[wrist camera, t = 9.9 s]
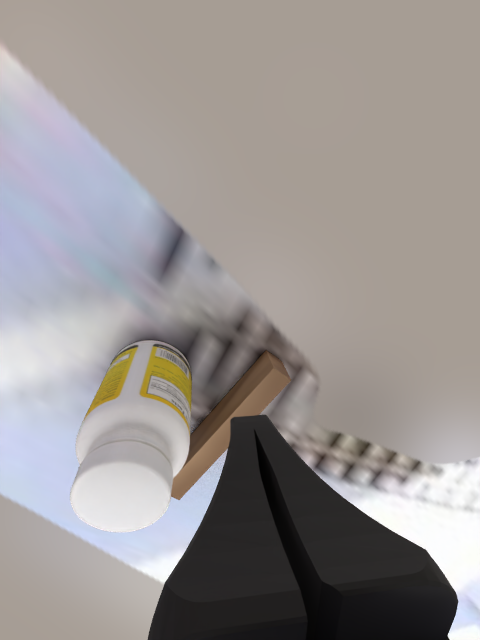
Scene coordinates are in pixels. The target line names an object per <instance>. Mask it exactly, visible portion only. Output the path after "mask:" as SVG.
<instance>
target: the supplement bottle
mask: <svg viewBox="0 0 480 640" xmlns="http://www.w3.org/2000/svg"><path fill="white" fill-rule="evenodd" d="M191 390H192V376H191V369H190V366H189V363H188V361H187V360H186V358H185V357H184V355H183V354H182V353H181V352H180V351H179V350H177V349H176V348H174V347H173V346H171V345H169V344H167V343H164V342H160V341H153V340H146V341H140V342H136V343H133V344H131V345H129V346H127V347H125V348H124V349H122V350H121V351H120V352H119V353H118V354H117V355H116V357H115V358H114V359H113V361H112V363H111V365H110V367H109V369H108V371H107V373H106V375H105V377H104V379H103V381H102V383H101V386H100V388H99V390H98V392H97V394H96V396H95V398H94V400H93V402H92V404H91V406H90V408H89V410H88V412H87V414H86V416H85V418H84V420H83V422H82V424H81V427H80V429H79V432H78V435H77V438H76V455H77V459H78V462H79V464H80V466H79V469H78V472H77V475H76V477H75V480H74V482H73V485H72V488H71V492H70V501H71V505H72V508H73V510H74V511H75V513H76V514H77V516H78V517H79V518H80V519H81V520H83V521H84V522H85V523H87V524H88V525H90V526H92V527H95V528H97V529H100V530H104V531H109V532H131V531H136V530H139V529H142V528H145V527H147V526H149V525H151V524H153V523H154V522H156V521H157V520H158V519H160V518H161V517H162V515H163V514H164V513H165V512H166V510H167V508H168V506H169V503H170V499H171V491H172V484H173V478H174V477H175V476H176V475H177V474H178V473H179V471H180V470H181V469H182V467H183V466H184V464H185V462H186V459H187V456H188V452H189V445H190V422H191Z"/></svg>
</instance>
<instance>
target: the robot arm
mask: <svg viewBox="0 0 480 640" xmlns="http://www.w3.org/2000/svg"><path fill="white" fill-rule="evenodd" d="M457 605H458V599H457V595H456V592H455V591H454V589H453V588H452V586H451V585H450V583H449V581H448V580H447V578H446V577H445V575H444V574H443V572H442V571H441V569H440V568H439V566H438V565H437V564H436V563H435V561H434V560H433V559H432V558H431V556H430V555H429V553H428V552H427V551H426V550H425V549H423V548H422V547H420V546H418V545H416V544H414V543H413V542H411V541H409V540H407V539H405V538H404V537H402V536H400V535H398V534H396V533H395V532H393V531H391V530H389V529H388V528H386V527H385V526H383V525H382V524H380V523H378V522H377V521H375V520H374V519H372V518H371V517H369V516H368V515H366V514H365V513H363V512H362V511H361V510H359V509H358V508H357V507H355V506H354V505H353V504H351V503H350V502H348V501H347V500H346V499H344V498H343V497H342V496H341V495H339V494H338V493H337V492H336V491H334V490H333V489H332V488H331V487H330V486H329V485H328V484H326V483H325V482H324V481H323V480H322V479H321V478H320V477H319V476H318V475H317V474H316V473H315V472H314V471H313V470H312V469H311V468H310V467H309V466H308V465H307V464H306V463H305V462H304V461H303V460H302V459H301V458H300V457H299V456H298V455H297V453H296V452H295V451H294V450H293V449H292V448H291V446H290V445H289V444H288V443H287V442H286V441H285V439H284V438H283V437H282V435H281V434H280V433H279V432H278V430H277V429H276V428H275V426H274V425H273V424H272V422H271V421H270V419H269V418H268V417H267V416H266V415H254V416H241V417H233V418H232V419H231V420H230V442H229V447H228V451H227V456H226V460H225V463H224V467H223V470H222V473H221V476H220V479H219V482H218V485H217V488H216V490H215V493H214V495H213V498H212V500H211V503H210V505H209V507H208V509H207V511H206V514H205V516H204V518H203V520H202V522H201V524H200V526H199V528H198V530H197V531H196V533H195V535H194V537H193V539H192V540H191V542H190V544H189V546H188V548H187V549H186V551H185V553H184V554H183V556H182V558H181V559H180V561H179V562H178V564H177V565H176V567H175V568H174V570H173V571H172V573H171V575H170V576H169V578H168V579H167V581H166V582H165V584H164V587H163V590H162V593H161V596H160V598H159V601H158V604H157V607H156V610H155V613H154V616H153V620H152V623H151V627H150V631H149V636H148V640H449V638H448V633H449V630H450V628H451V625H452V623H453V620H454V617H455V615H456V610H457Z"/></svg>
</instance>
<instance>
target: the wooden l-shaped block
mask: <svg viewBox="0 0 480 640" xmlns="http://www.w3.org/2000/svg"><path fill="white" fill-rule="evenodd" d="M290 381H291V379H290V377H289V375H288V373H287V371H286V369H285V367H284V365H283V363H282V361H281V360H279V359H278V358H276V357H275V356H274V355H272V354H271V353H269V352H268V351H267V350H266V351H265V352H264V353H263V354H262V355H261V356H260V358H259V359H258V360H257V361H256V362H255V363H254V364H253V365H252V367H251V368H250V369H249V370H248V371H247V372H246V373H245V374H244V376H243V377H242V378H241V379H240V380H239V381H238V382H237V383H236V385H235V386H234V387H233V388H232V389H231V390H230V391H229V392H228V394H227V395H226V396H225V397H224V398H223V399H222V400H221V401H220V403H219V404H218V405H217V406H216V407H215V408H214V409H213V410H212V412H211V413H210V414H209V415H208V416H207V417H206V418H205V419H204V421H203V422H202V423H201V424H200V425H199V426H198V427H197V428H196V430H195V431H194V432H193V433H192V434H191V435H190V445H189V452H188V456H187V459H186V462H185V464H184V466H183V467H182V469H181V470H180V471H179V473H178V474H177V475H176V476H175V477H174V478H173V484H172V491H171V497H173V498H176V499H178V500H180V499H181V498H182V497H183V495H184V494H185V493H186V492H187V491H188V490H189V489H190V488H191V487H192V486H193V485H194V484H195V483H196V482H197V480H198V479H199V478H200V477H201V476H202V475H203V474H204V473H205V472H206V471H207V470H208V469H209V468H210V467H211V465H212V464H213V463H214V462H215V461H216V460H217V459H218V458H219V457H220V456H221V455H222V454H223V453H224V452H225V450H226V449H227V448H228V447H229V442H230V420H231V419H232V418H233V417H241V416H254V415H259V414H260V413H261V412H262V411H263V410H264V409H265V408H266V407H267V405H268V404H269V403H270V402H271V401H272V400H273V399H274V398H275V397H276V396H277V395H278V394H279V393H280V392H281V390H282V389H283V388H284V387H285V386H286V385H287V384H288V383H289V382H290Z"/></svg>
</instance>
